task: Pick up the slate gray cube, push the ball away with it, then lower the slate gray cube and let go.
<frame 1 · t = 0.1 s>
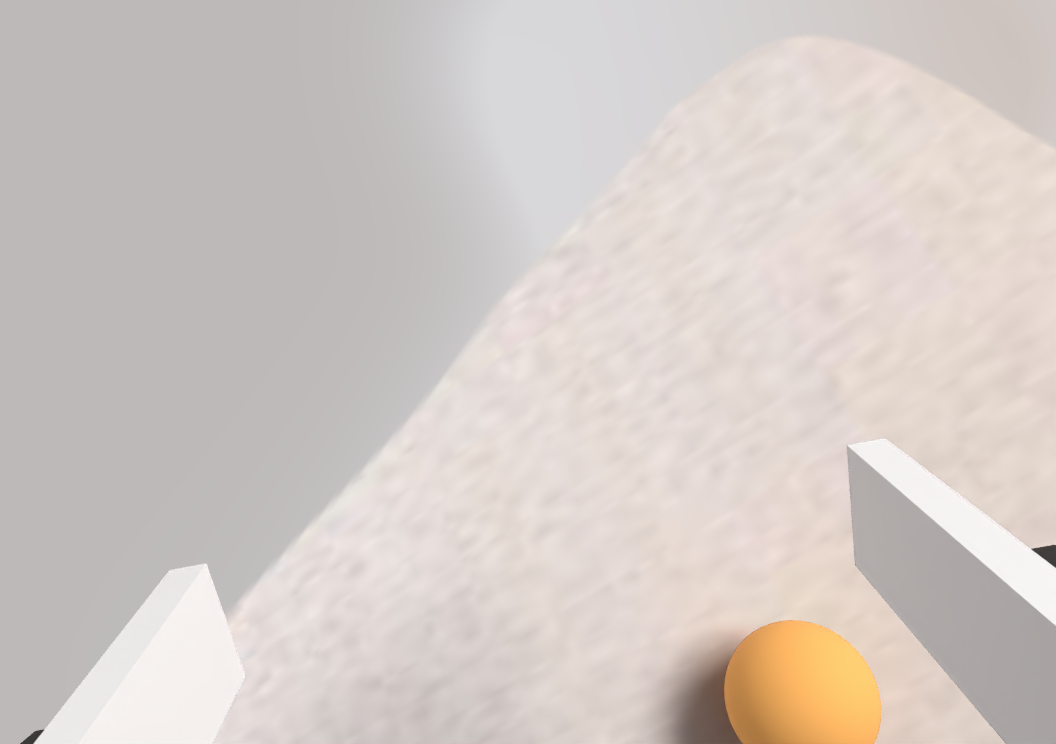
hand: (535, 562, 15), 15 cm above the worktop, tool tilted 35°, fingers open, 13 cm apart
ball: (800, 697, 26), on the worktop
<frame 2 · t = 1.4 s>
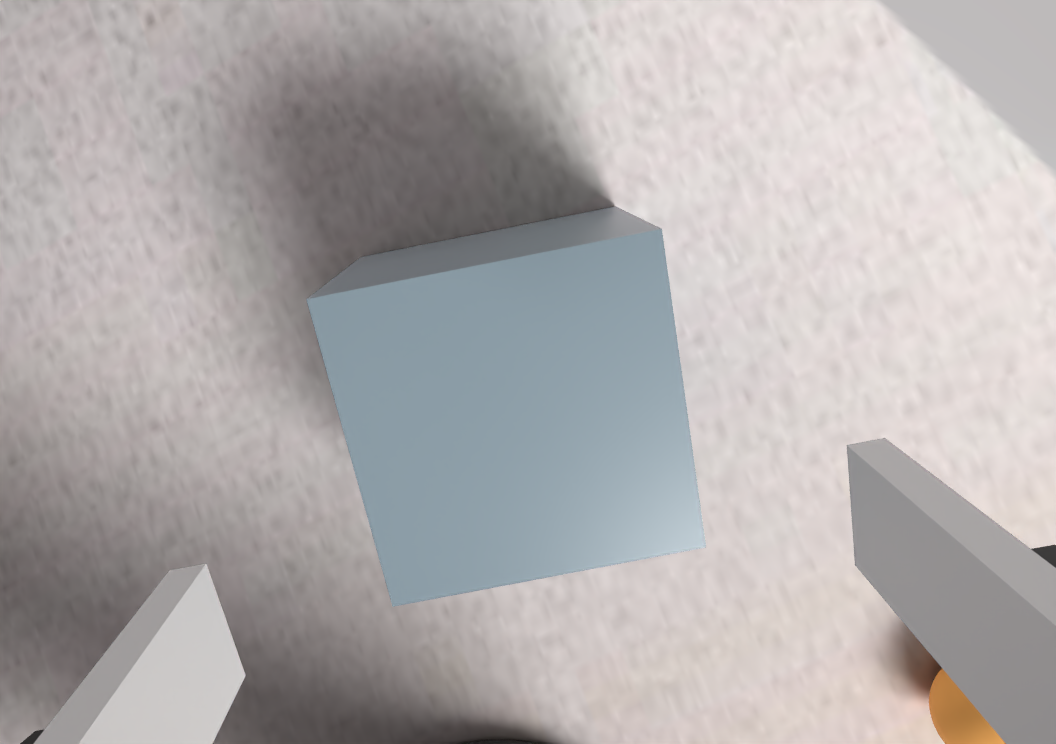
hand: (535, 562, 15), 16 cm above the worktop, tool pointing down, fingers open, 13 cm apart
ball: (991, 712, 34), on the worktop
slate gray cube: (513, 354, 31), on the worktop
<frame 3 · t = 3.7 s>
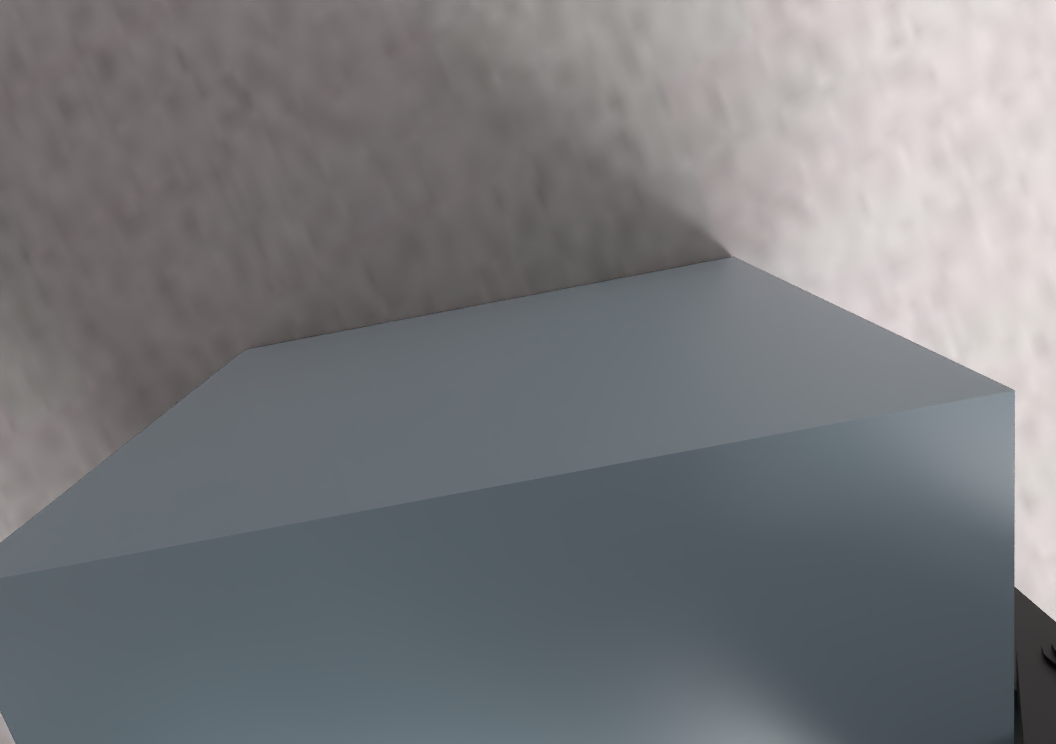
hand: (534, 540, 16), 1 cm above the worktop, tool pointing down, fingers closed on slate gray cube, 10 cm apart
slate gray cube: (532, 523, 17), on the worktop, touching gripper
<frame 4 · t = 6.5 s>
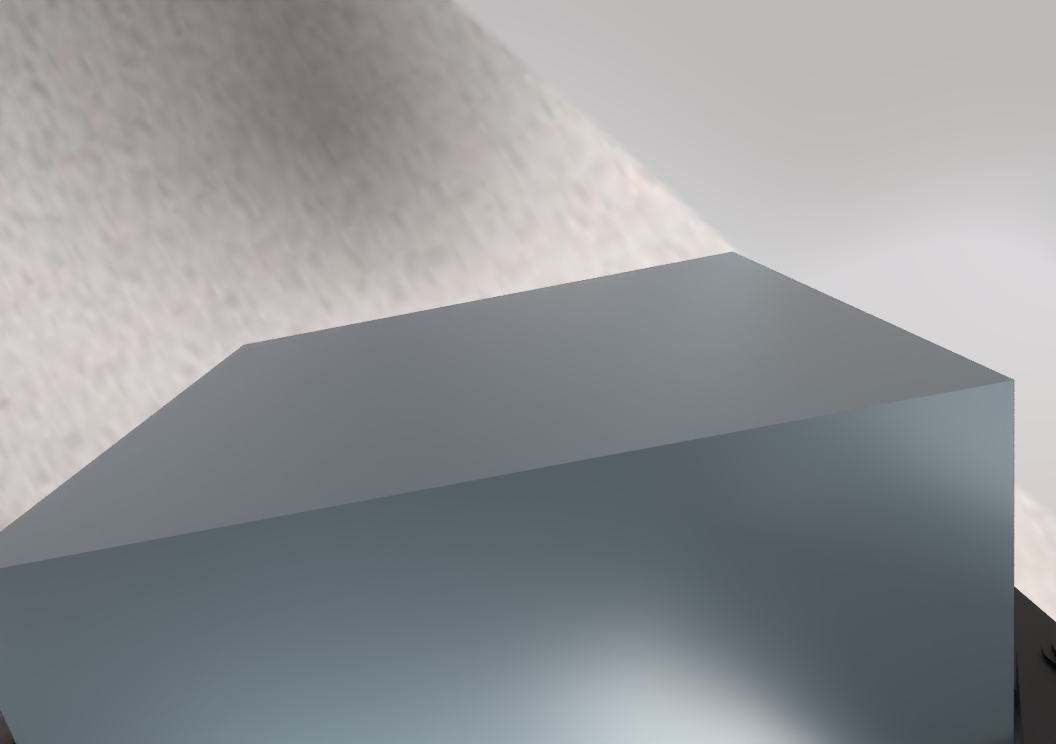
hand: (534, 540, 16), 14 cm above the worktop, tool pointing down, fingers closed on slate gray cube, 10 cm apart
slate gray cube: (531, 519, 17), point 14 cm above the worktop, touching gripper
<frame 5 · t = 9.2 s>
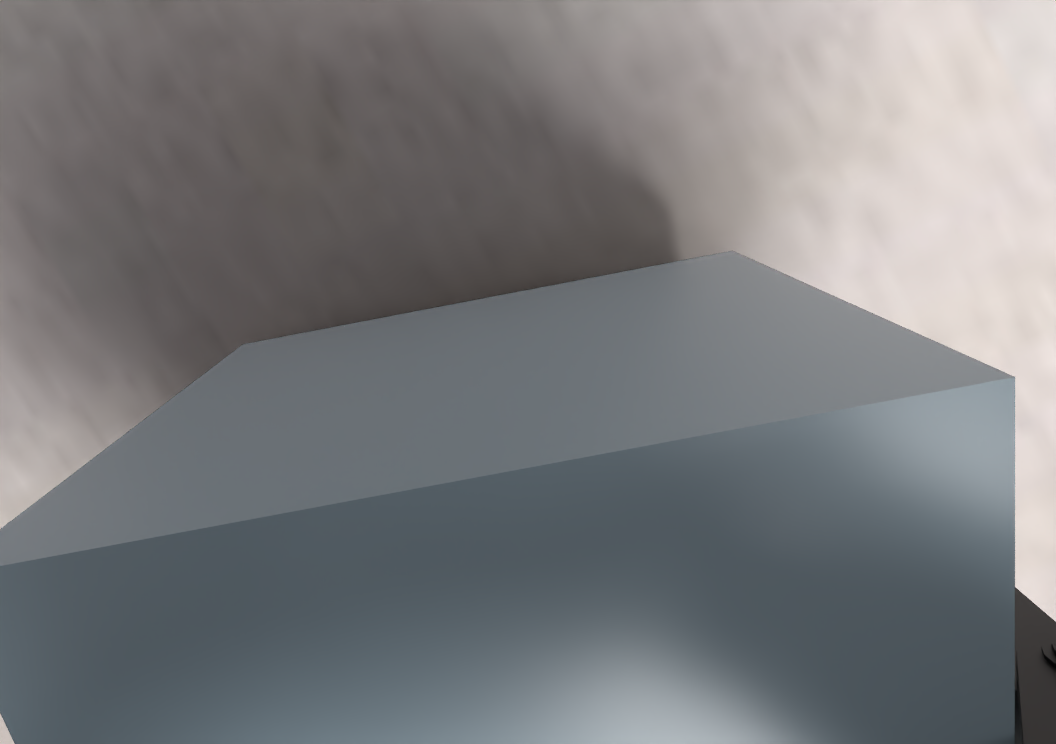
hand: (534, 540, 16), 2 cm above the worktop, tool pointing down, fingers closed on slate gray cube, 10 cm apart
slate gray cube: (531, 518, 17), point 2 cm above the worktop, touching gripper
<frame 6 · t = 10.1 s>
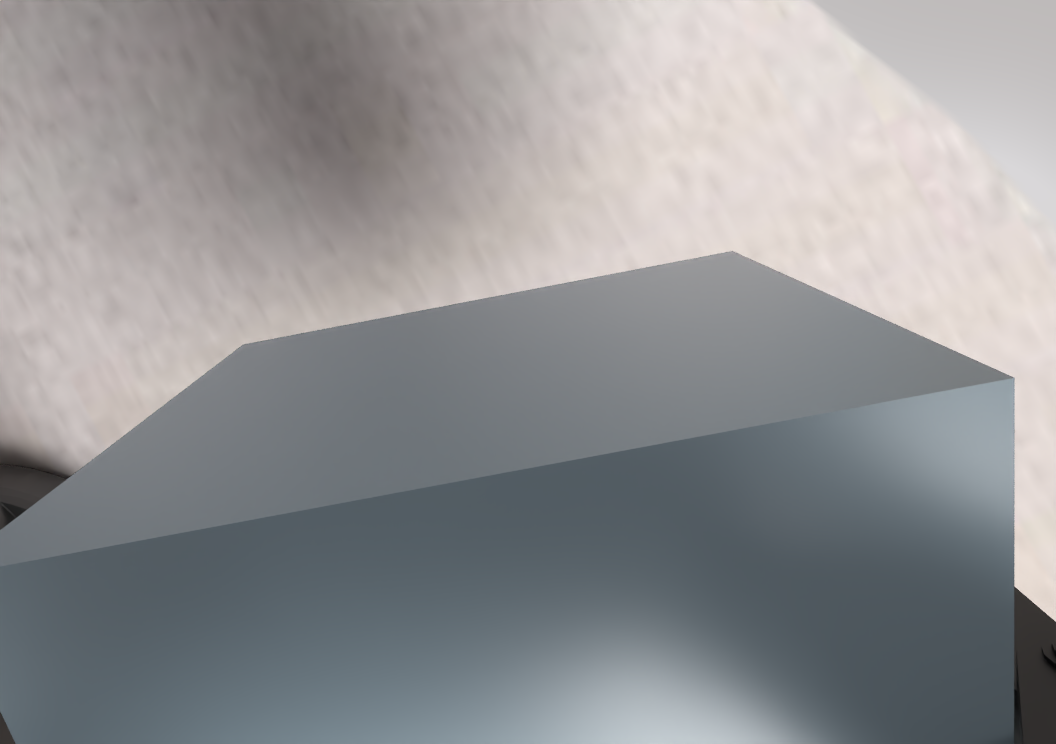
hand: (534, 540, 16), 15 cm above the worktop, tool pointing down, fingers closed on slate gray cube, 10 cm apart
slate gray cube: (531, 518, 17), point 14 cm above the worktop, touching gripper
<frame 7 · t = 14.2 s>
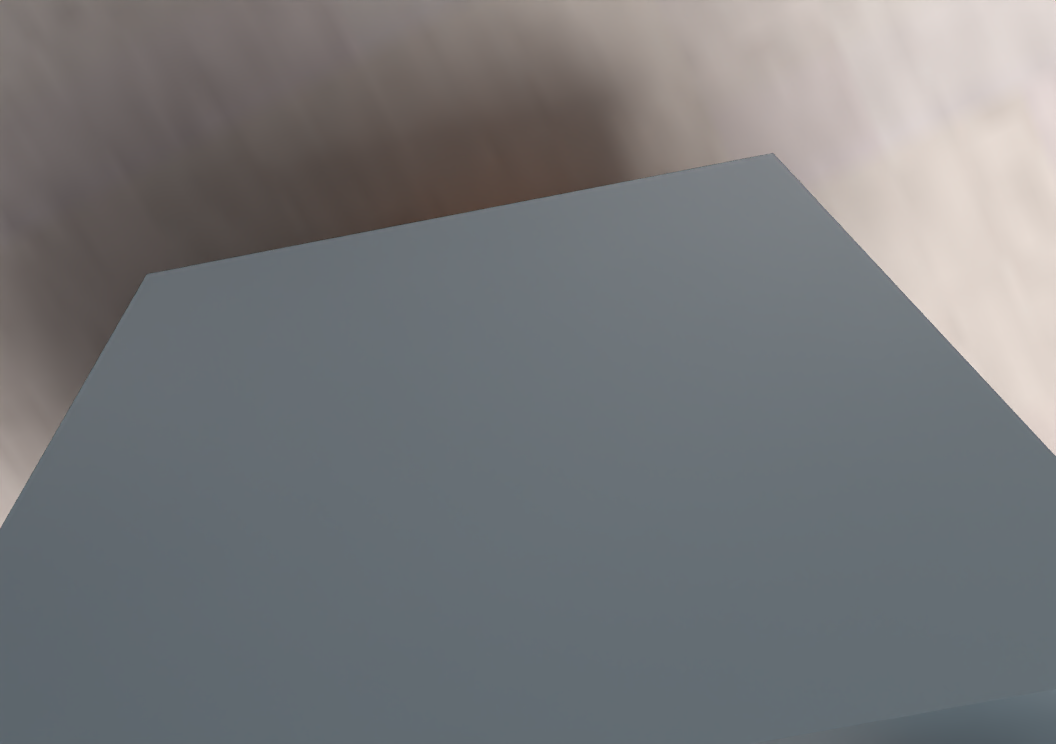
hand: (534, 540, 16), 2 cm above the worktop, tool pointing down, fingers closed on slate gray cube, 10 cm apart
slate gray cube: (511, 441, 15), point 2 cm above the worktop, tilted 21°, touching ball, gripper
when the fingers open (2 cm above the worktop, at t = 14.7 s): slate gray cube drops 2 cm, on the worktop.
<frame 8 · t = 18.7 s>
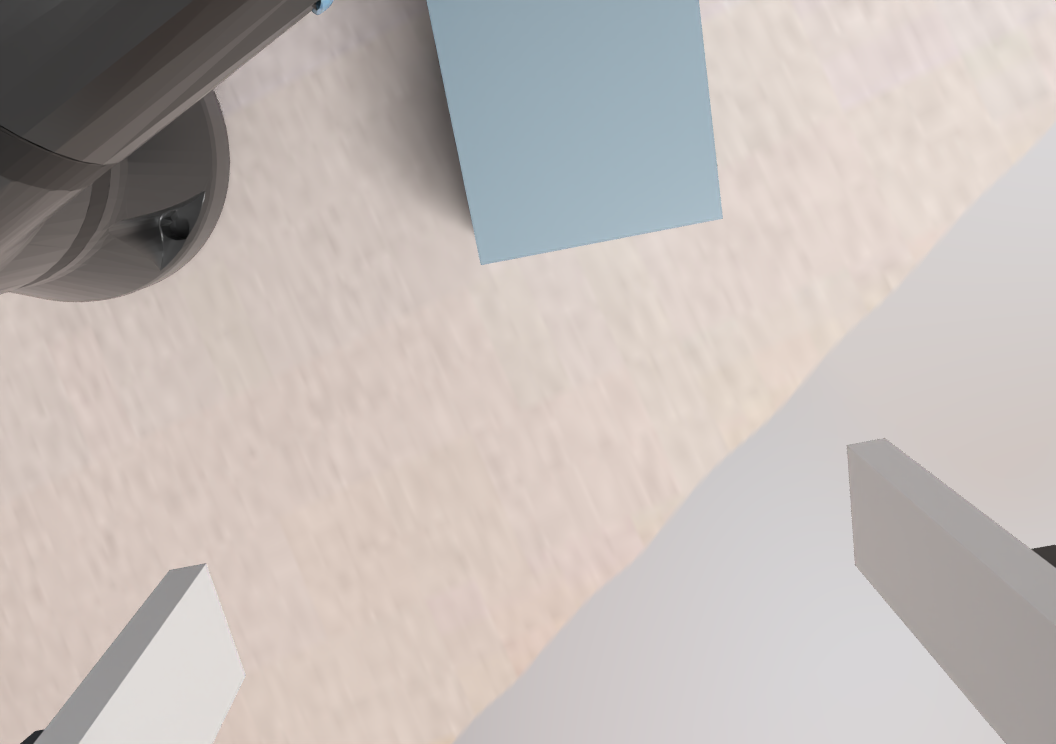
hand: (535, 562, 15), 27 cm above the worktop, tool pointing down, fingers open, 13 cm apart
slate gray cube: (563, 121, 38), on the worktop
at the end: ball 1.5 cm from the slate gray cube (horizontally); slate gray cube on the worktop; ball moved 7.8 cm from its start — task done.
